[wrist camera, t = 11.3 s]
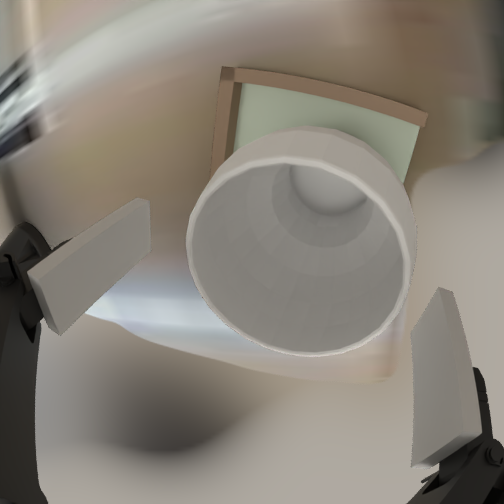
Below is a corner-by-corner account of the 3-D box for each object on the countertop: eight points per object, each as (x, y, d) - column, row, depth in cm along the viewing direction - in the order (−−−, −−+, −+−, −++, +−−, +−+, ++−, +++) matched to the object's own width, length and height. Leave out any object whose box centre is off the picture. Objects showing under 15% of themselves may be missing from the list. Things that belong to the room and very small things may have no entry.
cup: (404, 222, 24) (426, 356, 12) (291, 241, 28) (227, 364, 16) (375, 99, 20) (398, 105, 8) (253, 132, 24) (138, 186, 12)
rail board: (213, 282, 36) (202, 297, 34) (236, 68, 23) (221, 66, 21) (342, 326, 33) (339, 345, 30) (420, 111, 20) (428, 113, 17)
